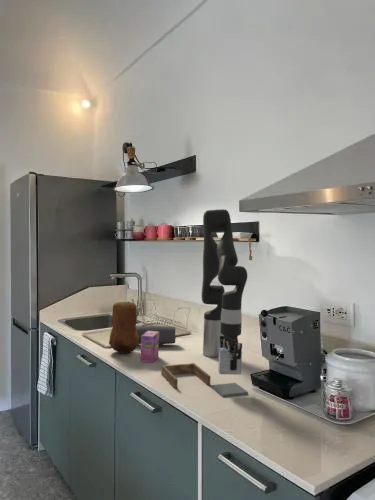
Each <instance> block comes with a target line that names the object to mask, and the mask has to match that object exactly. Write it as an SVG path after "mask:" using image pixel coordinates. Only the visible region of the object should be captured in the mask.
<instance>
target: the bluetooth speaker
mask: <svg viewBox="0 0 375 500" xmlns="http://www.w3.org/2000/svg"><path fill="white" fill-rule="evenodd" d="M136 330H137V333H138V336H139V344H138V345H141V336H142V335H143V334H144V333H146V332H147V331H157V332H159V347H164V345H171V344H176V326H165V325H136Z"/></svg>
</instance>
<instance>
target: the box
mask: <svg viewBox="0 0 375 500" xmlns="http://www.w3.org/2000/svg"><path fill="white" fill-rule="evenodd" d="M159 347H160V346H159V332H157V331H147V332H146V333H144V334H143V335H142V336H141V344H140V354H139V355H140V361H139V362H140V363H150V364H152V363H153V362H154V361H155V360H157V358H159V353H160V352H159Z"/></svg>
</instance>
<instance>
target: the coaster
mask: <svg viewBox="0 0 375 500" xmlns="http://www.w3.org/2000/svg"><path fill="white" fill-rule="evenodd" d="M210 388H211V389H212V390H214V392H216V393H218V395H219V396H221V397H222V398H225V397H228V398H229V397H235V396H236V397H237V396H243V395H244V396H245V395H249V391H248V390H246V389H244V388H243V387H242V386H240V385H239V384H238V383H236V382H232V383H221V384H219V383H218V384H210Z"/></svg>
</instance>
